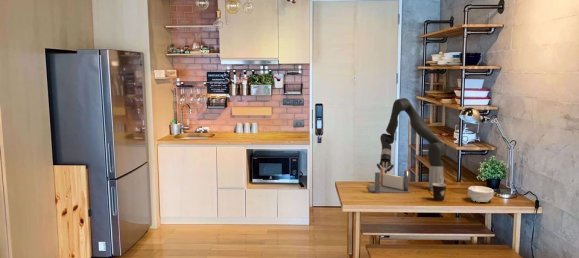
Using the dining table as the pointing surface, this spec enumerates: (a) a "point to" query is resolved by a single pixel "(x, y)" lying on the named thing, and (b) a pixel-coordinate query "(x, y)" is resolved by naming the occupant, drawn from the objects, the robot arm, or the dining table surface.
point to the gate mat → (386, 189)
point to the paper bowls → (480, 193)
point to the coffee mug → (438, 191)
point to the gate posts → (377, 181)
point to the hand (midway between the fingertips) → (384, 175)
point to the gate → (391, 180)
